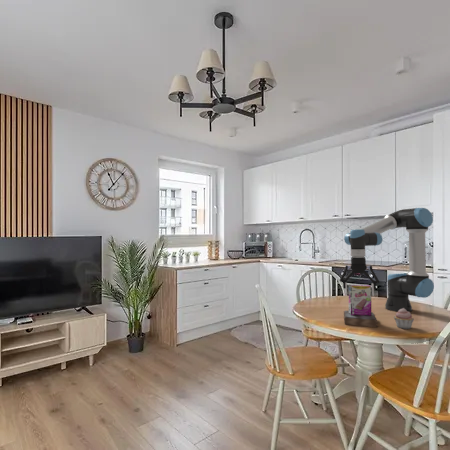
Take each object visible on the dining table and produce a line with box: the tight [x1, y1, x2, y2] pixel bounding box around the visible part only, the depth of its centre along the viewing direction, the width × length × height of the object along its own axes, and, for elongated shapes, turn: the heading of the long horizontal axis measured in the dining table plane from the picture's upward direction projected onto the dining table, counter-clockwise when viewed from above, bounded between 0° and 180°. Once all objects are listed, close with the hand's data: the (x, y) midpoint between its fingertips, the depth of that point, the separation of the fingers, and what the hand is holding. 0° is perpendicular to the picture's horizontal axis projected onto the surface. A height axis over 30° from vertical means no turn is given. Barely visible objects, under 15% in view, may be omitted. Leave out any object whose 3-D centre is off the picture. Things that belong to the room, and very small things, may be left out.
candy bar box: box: [347, 284, 372, 316], centre depth 173 cm, size 11×5×16 cm, turn 84°
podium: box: [343, 310, 378, 328], centre depth 173 cm, size 16×16×4 cm
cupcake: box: [393, 308, 415, 330], centre depth 162 cm, size 9×9×10 cm
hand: (359, 295), depth 173 cm, fingers open, 13 cm apart
